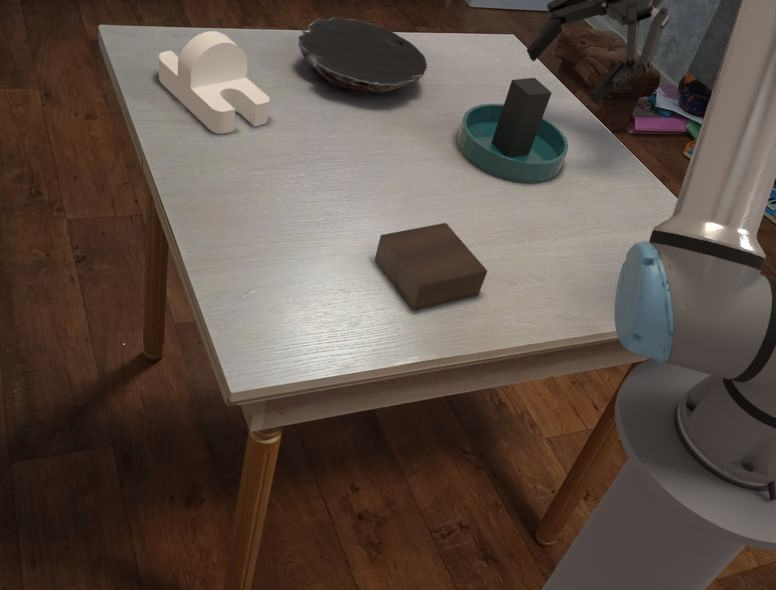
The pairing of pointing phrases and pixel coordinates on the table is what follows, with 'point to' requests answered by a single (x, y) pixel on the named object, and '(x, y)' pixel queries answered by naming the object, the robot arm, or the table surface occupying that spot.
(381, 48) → the dark grey round slab
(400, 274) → the stand
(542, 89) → the pillar
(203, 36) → the slotted bracket
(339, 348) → the table surface
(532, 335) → the table surface
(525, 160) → the tin
